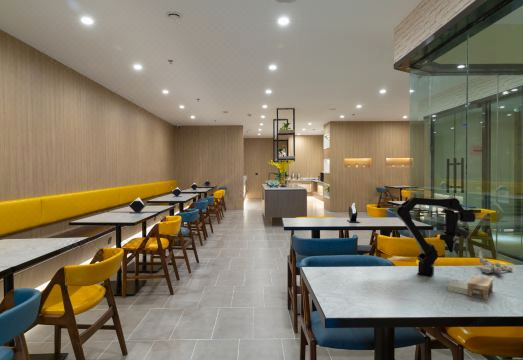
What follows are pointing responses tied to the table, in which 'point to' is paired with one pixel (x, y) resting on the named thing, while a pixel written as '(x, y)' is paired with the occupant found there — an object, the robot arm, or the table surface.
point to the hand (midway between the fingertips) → (451, 252)
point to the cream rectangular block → (462, 287)
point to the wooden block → (480, 286)
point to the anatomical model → (491, 265)
